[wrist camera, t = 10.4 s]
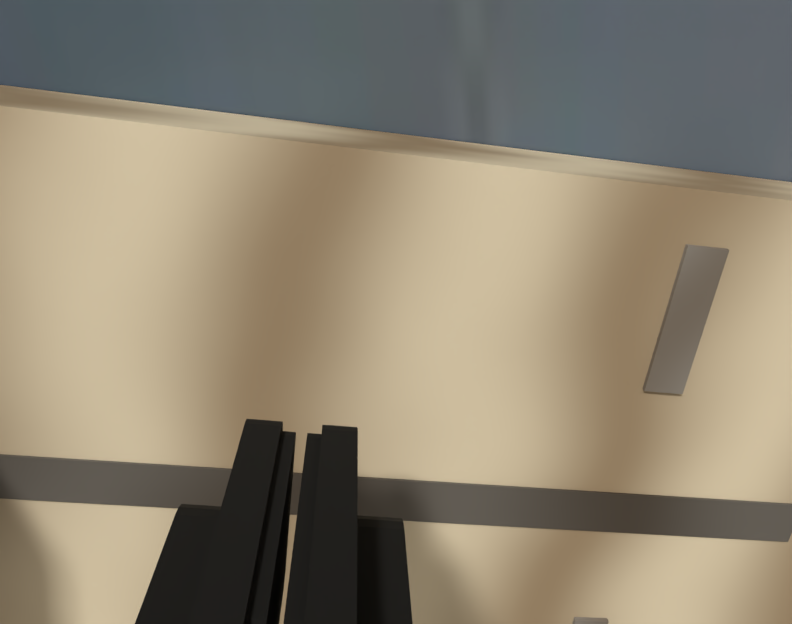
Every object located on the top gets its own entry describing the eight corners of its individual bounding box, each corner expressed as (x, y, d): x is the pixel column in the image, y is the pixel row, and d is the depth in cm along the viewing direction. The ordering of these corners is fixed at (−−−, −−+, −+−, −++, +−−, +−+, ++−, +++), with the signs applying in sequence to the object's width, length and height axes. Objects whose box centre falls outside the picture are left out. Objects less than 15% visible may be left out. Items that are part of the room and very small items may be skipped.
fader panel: (917, 197, 15) (1025, 229, 13) (723, 659, 20) (774, 743, 18) (-408, 34, 12) (-594, 36, 10) (-237, 628, 17) (-330, 725, 15)
